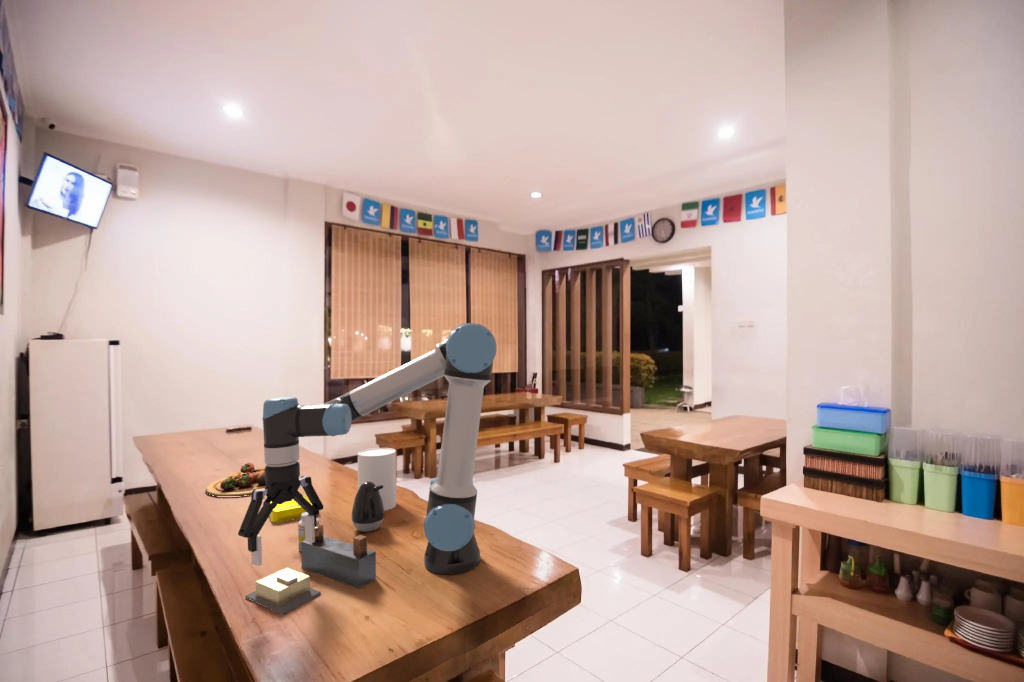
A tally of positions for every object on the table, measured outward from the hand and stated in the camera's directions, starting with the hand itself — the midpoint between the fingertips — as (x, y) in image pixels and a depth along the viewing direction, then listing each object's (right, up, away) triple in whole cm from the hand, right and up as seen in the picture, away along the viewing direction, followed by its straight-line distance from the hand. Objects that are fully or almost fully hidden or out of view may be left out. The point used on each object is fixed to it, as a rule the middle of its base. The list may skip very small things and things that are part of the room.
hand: (284, 552), depth 112 cm
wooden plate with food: (-58, -12, +90) cm, 107 cm away
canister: (+4, -11, +62) cm, 63 cm away
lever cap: (0, -10, 0) cm, 10 cm away
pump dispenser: (+8, -11, +41) cm, 43 cm away
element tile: (-24, -12, +56) cm, 62 cm away
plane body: (+9, -10, +11) cm, 17 cm away
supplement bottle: (-6, -11, +26) cm, 29 cm away
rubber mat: (0, -10, 0) cm, 10 cm away
